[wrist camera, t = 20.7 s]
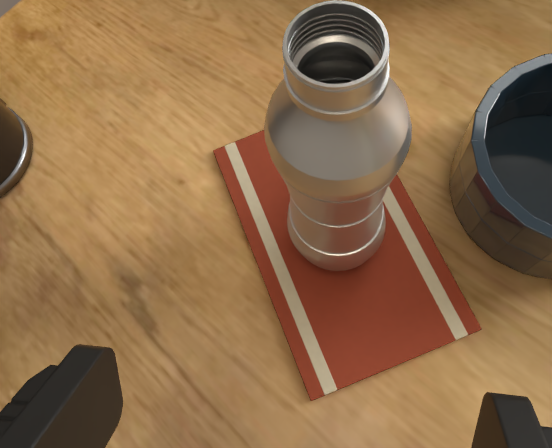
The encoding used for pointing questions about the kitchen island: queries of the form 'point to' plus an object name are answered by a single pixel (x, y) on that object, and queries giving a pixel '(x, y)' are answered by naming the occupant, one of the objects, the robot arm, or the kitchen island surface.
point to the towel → (346, 281)
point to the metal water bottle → (337, 132)
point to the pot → (510, 170)
